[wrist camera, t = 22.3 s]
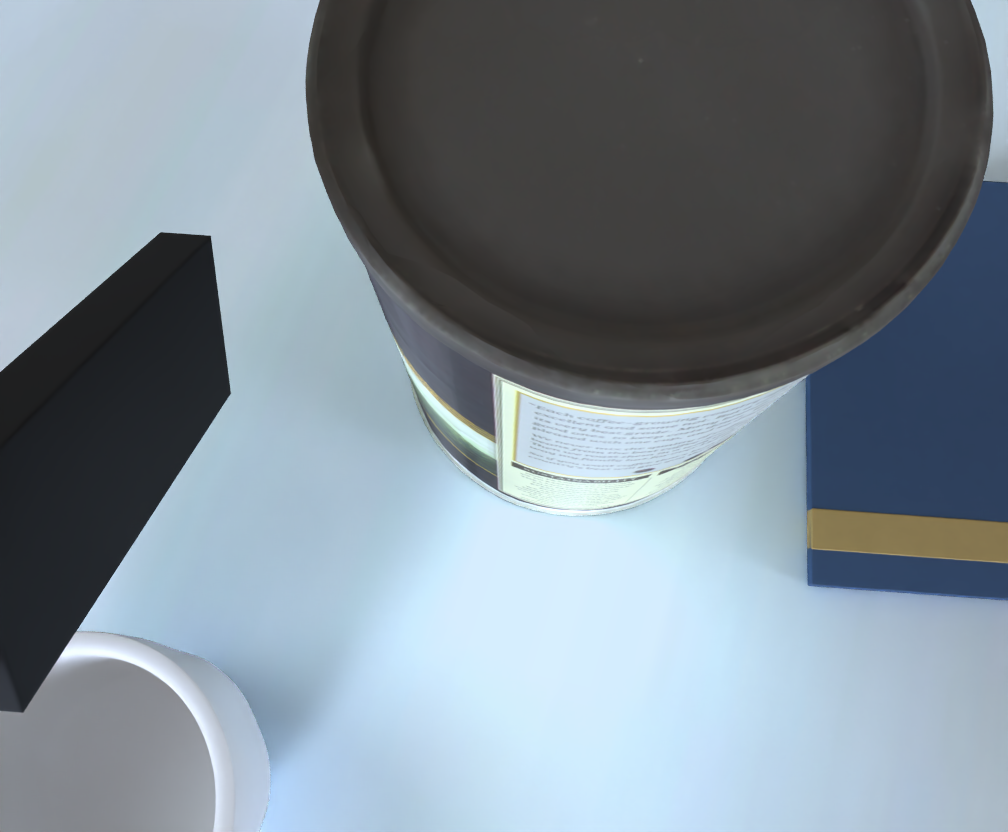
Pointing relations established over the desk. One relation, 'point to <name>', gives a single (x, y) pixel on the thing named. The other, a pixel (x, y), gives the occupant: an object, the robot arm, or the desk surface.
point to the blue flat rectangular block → (920, 435)
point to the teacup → (133, 745)
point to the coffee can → (639, 211)
